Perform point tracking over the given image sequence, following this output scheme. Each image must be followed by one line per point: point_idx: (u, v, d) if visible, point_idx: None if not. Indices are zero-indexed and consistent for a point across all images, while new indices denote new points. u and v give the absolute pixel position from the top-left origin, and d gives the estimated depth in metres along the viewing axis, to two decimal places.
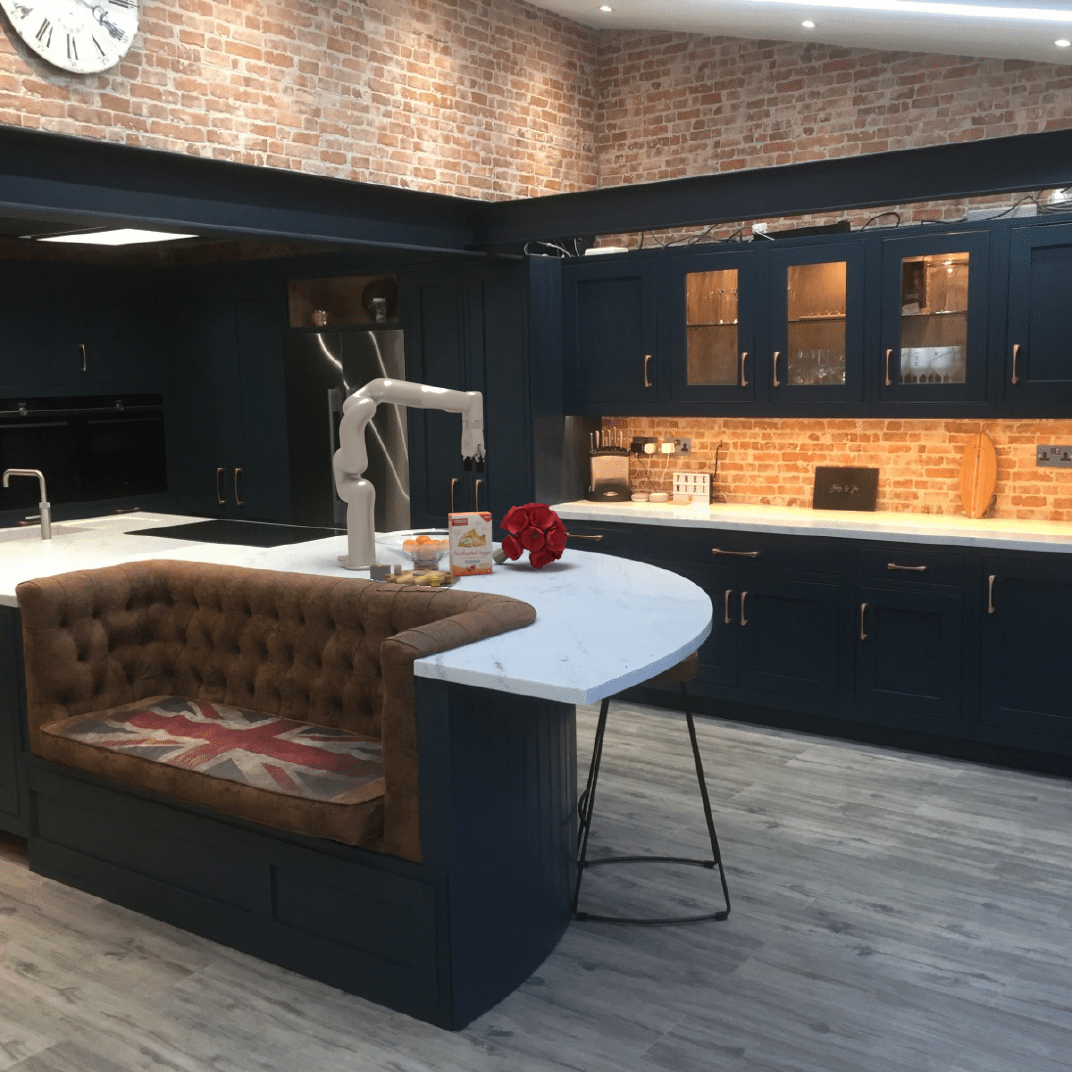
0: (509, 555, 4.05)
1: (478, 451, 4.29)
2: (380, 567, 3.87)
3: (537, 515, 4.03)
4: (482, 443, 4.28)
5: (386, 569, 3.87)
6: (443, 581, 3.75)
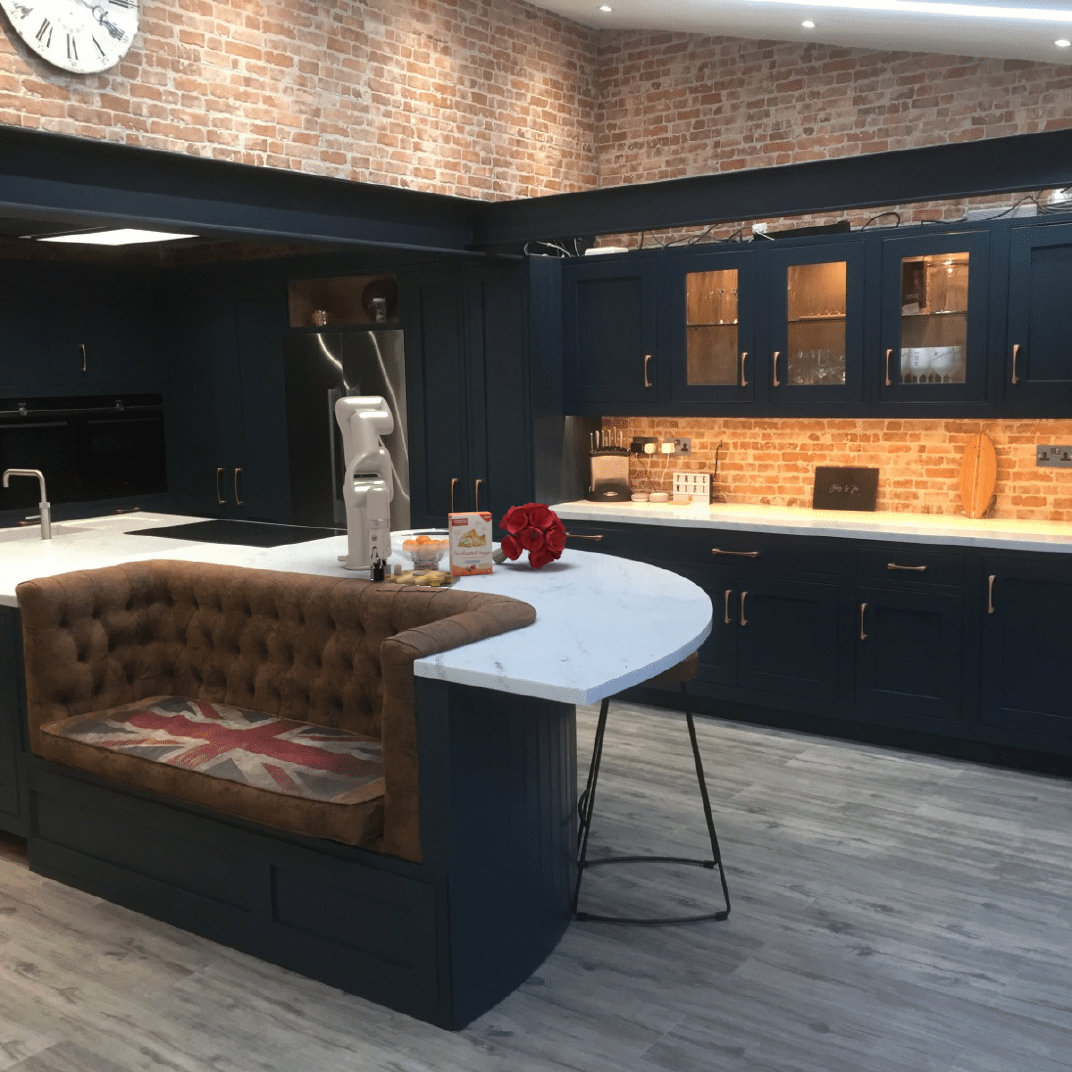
0: (508, 555, 4.05)
1: None
2: None
3: (536, 515, 4.03)
4: None
5: (386, 569, 3.87)
6: (443, 581, 3.75)
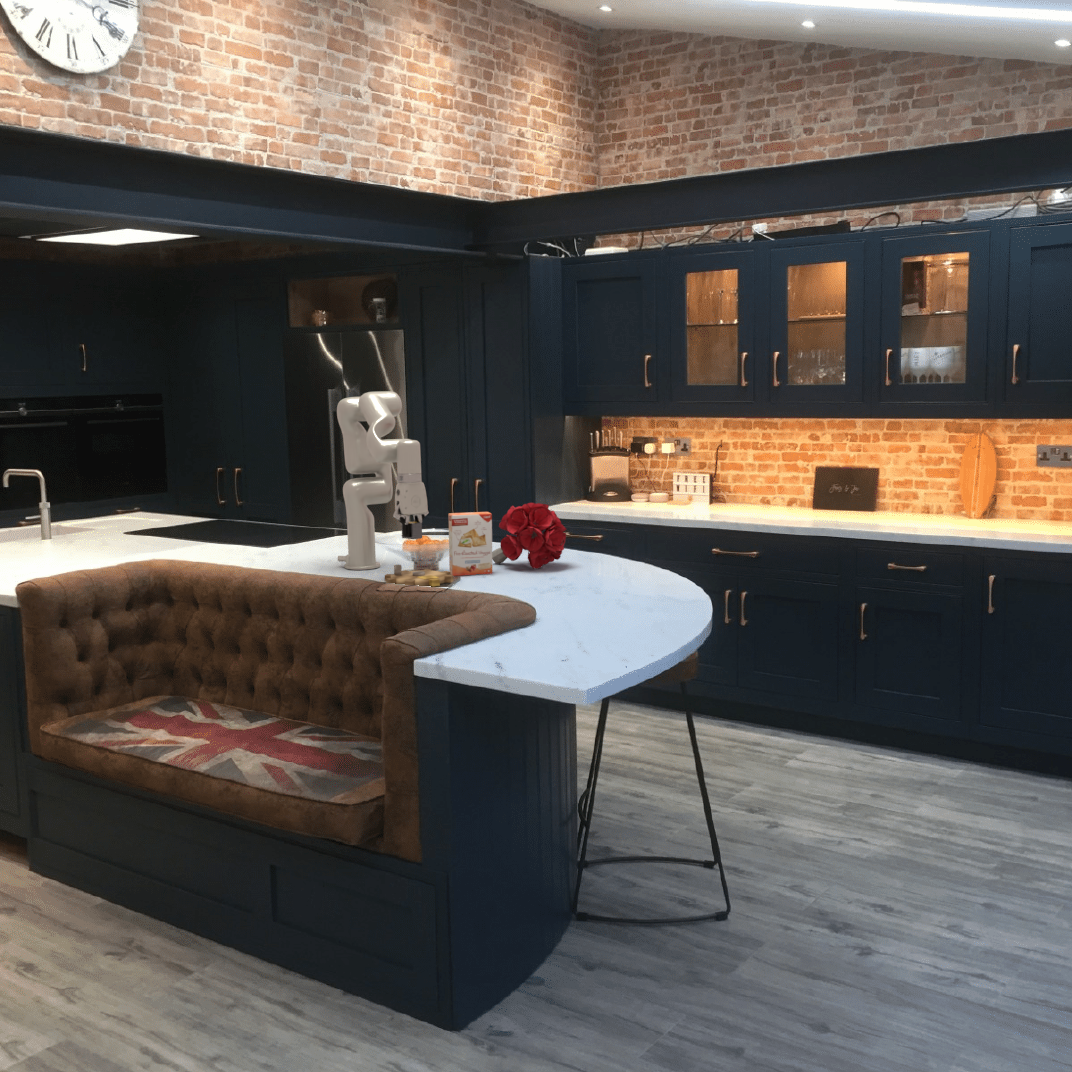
0: (508, 555, 4.05)
1: None
2: (408, 524, 3.74)
3: (536, 515, 4.03)
4: None
5: (412, 526, 3.72)
6: (443, 581, 3.75)
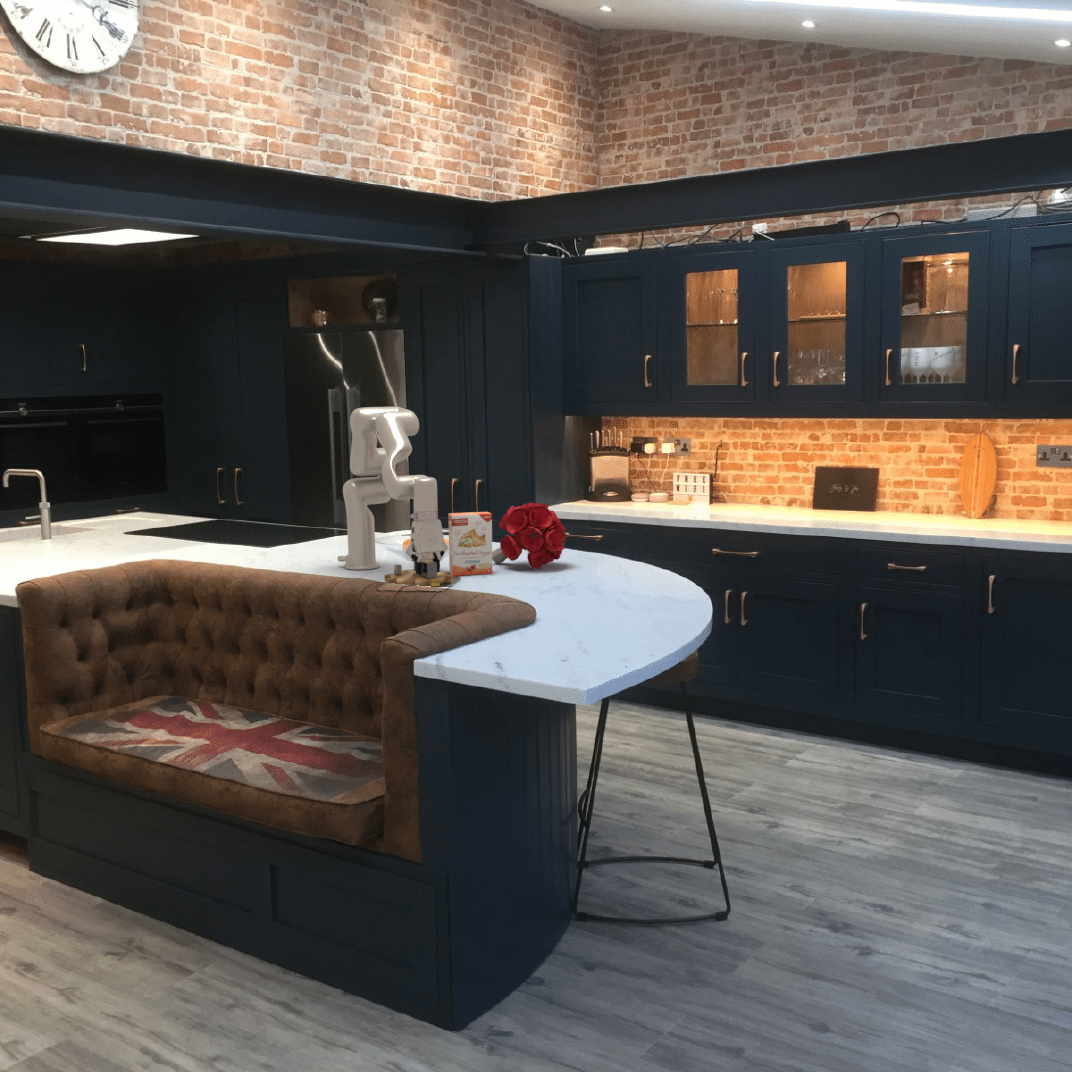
0: (508, 555, 4.05)
1: None
2: (423, 563, 3.71)
3: (536, 515, 4.03)
4: None
5: (426, 566, 3.70)
6: (443, 581, 3.75)
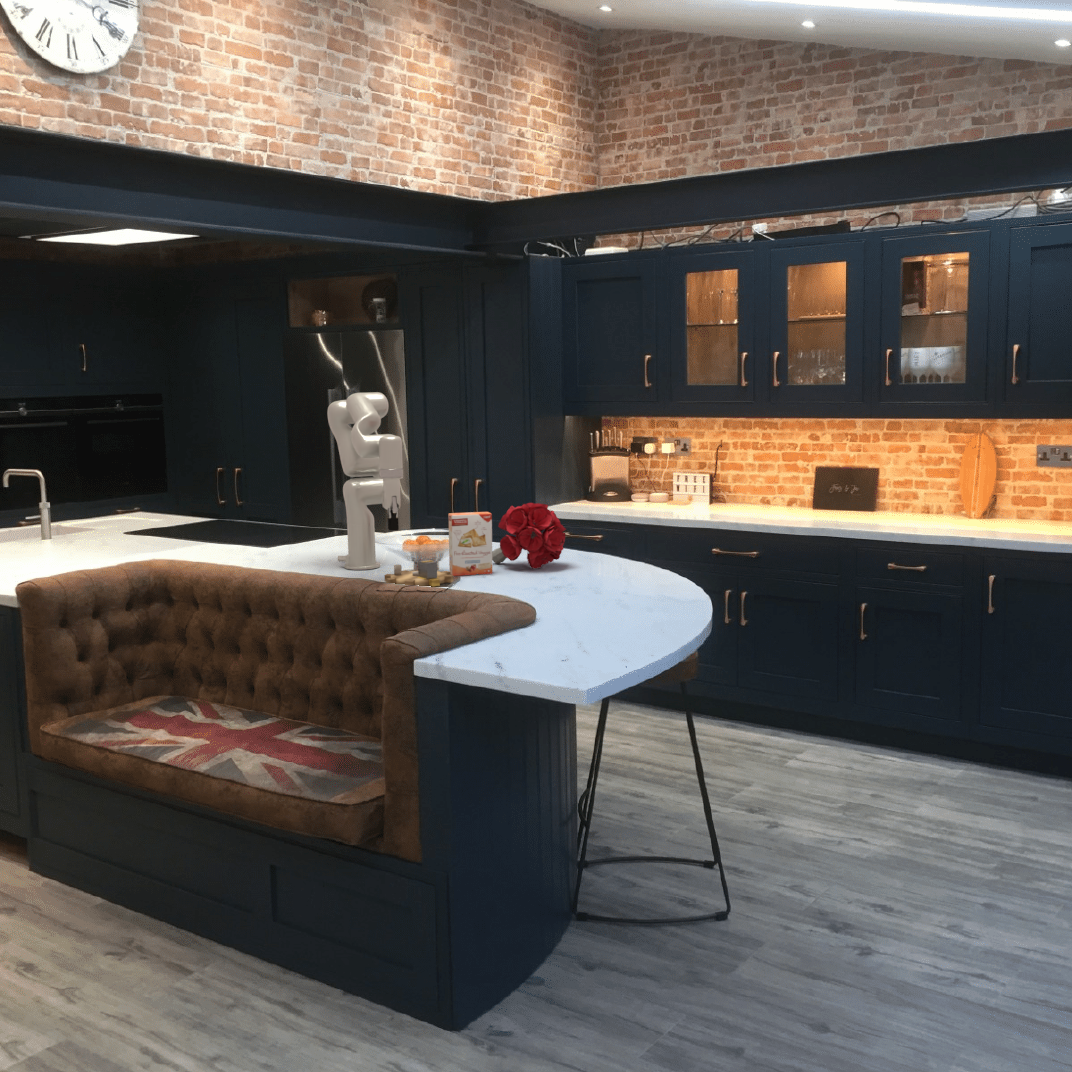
0: (507, 555, 4.05)
1: None
2: (423, 563, 3.71)
3: (535, 515, 4.03)
4: (397, 495, 3.78)
5: (426, 566, 3.70)
6: (443, 581, 3.75)
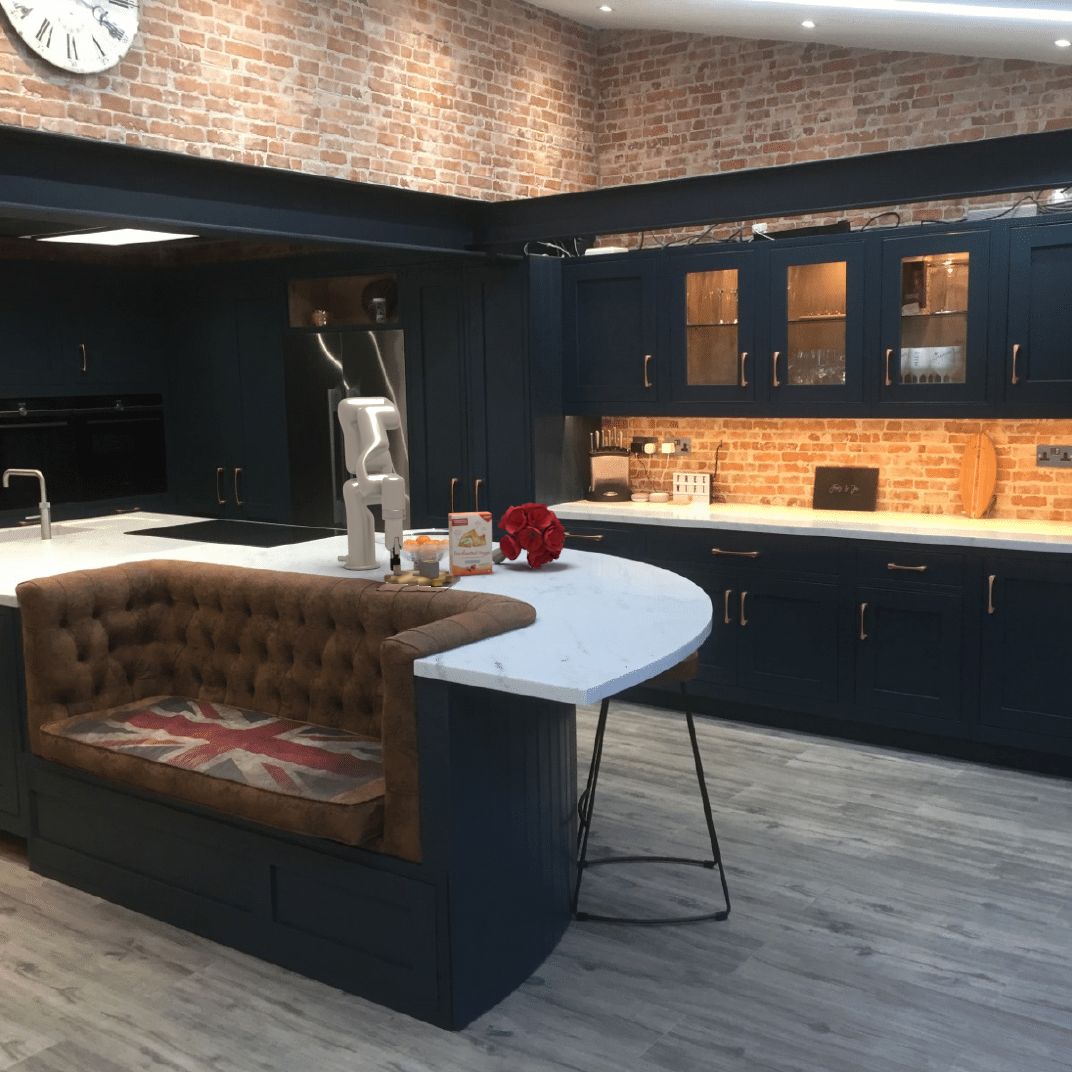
0: (507, 555, 4.05)
1: None
2: (425, 563, 3.71)
3: (535, 515, 4.03)
4: (400, 536, 3.75)
5: (429, 565, 3.70)
6: (444, 581, 3.76)
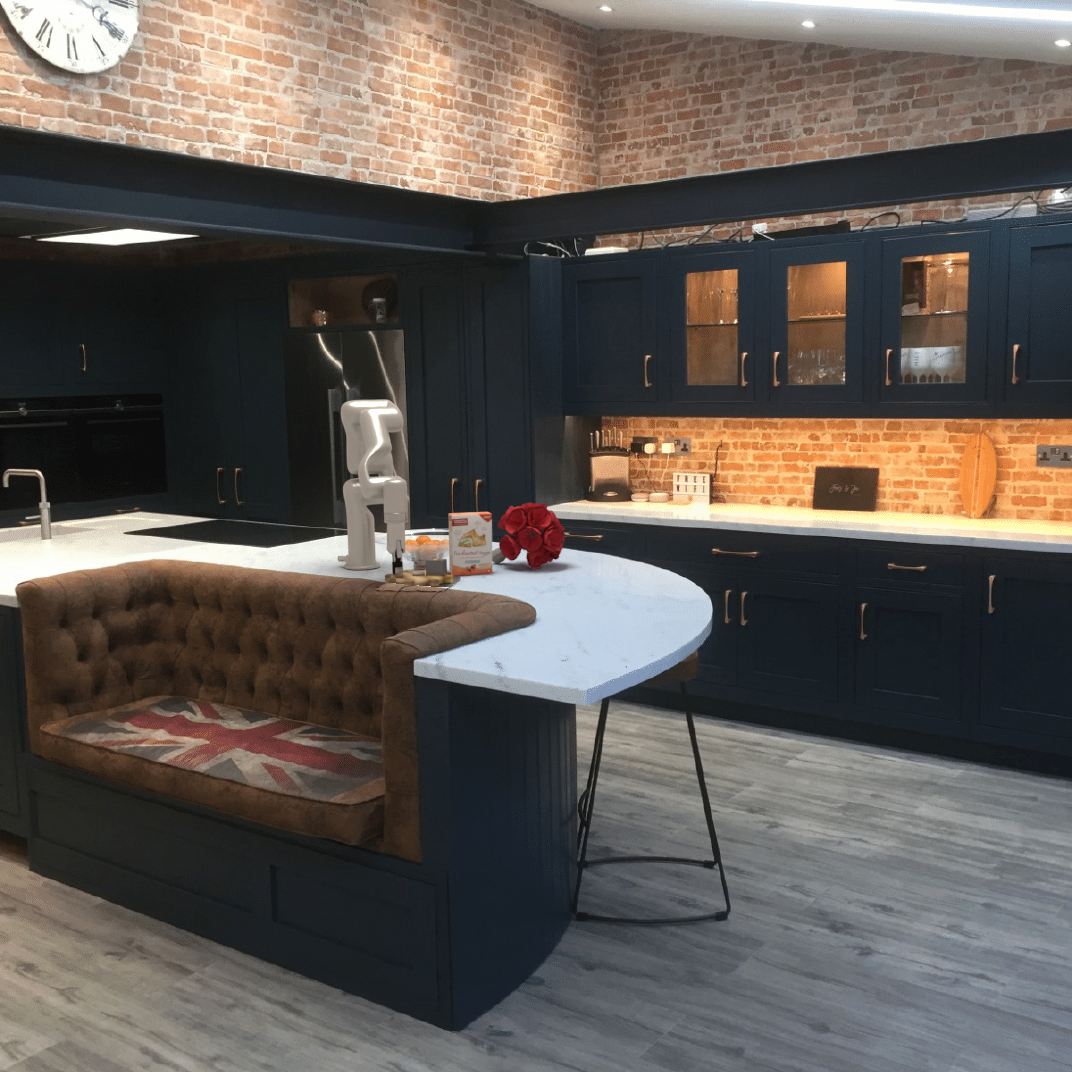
0: (507, 555, 4.05)
1: None
2: (436, 561, 3.74)
3: (535, 515, 4.03)
4: (402, 539, 3.71)
5: (442, 563, 3.74)
6: None
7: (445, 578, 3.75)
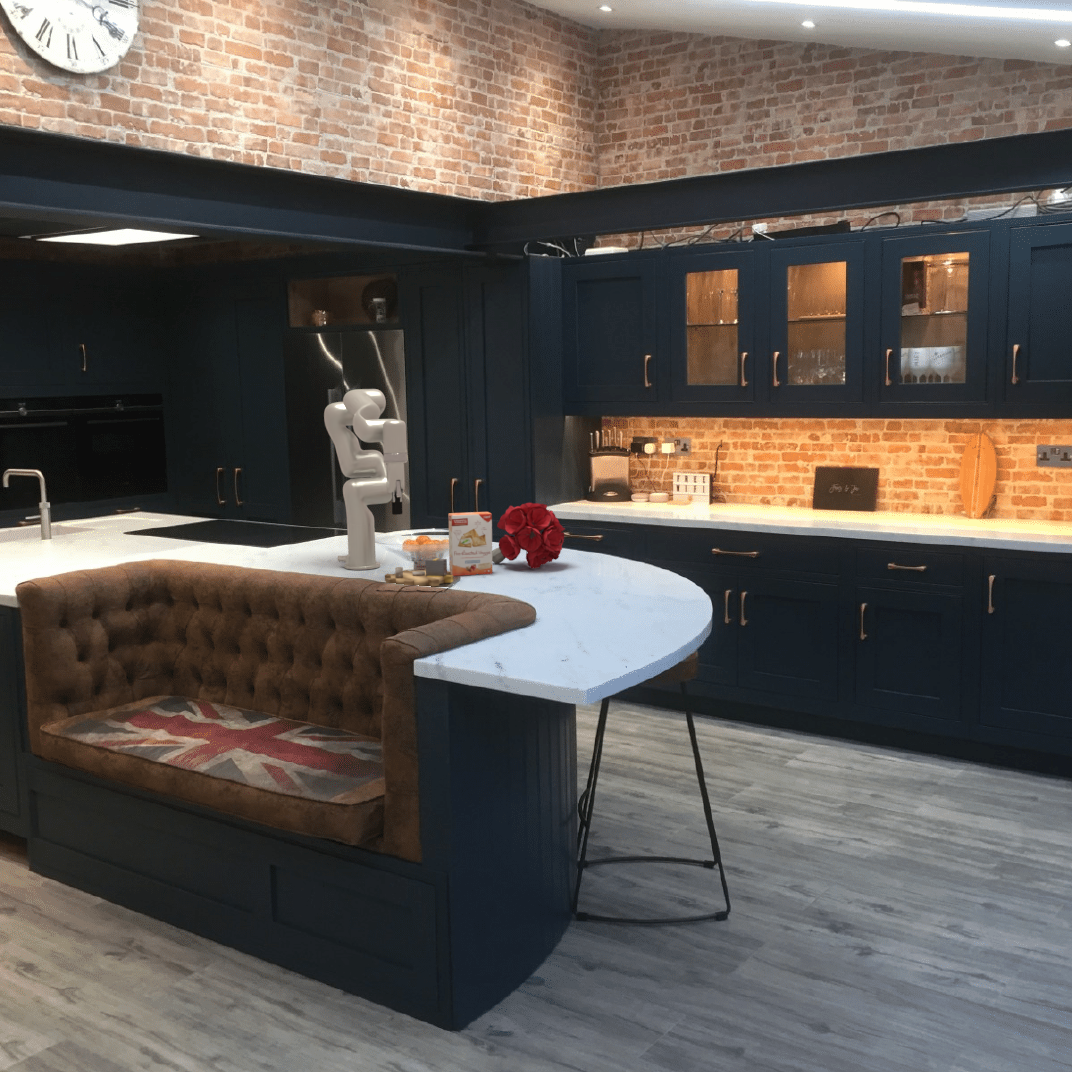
0: (506, 555, 4.05)
1: None
2: (436, 561, 3.74)
3: (534, 515, 4.03)
4: (401, 479, 3.79)
5: (442, 563, 3.74)
6: None
7: (445, 578, 3.75)
